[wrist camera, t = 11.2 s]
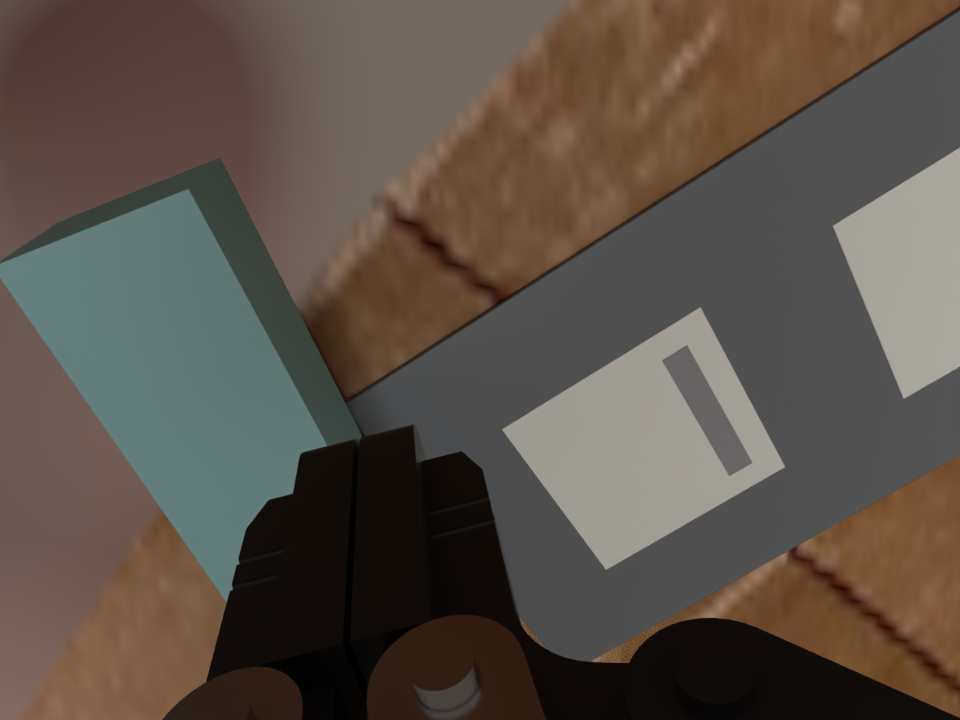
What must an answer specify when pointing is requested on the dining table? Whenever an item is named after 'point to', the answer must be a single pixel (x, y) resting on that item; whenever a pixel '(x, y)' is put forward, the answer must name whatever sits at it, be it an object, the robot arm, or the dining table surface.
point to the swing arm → (185, 352)
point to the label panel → (717, 362)
